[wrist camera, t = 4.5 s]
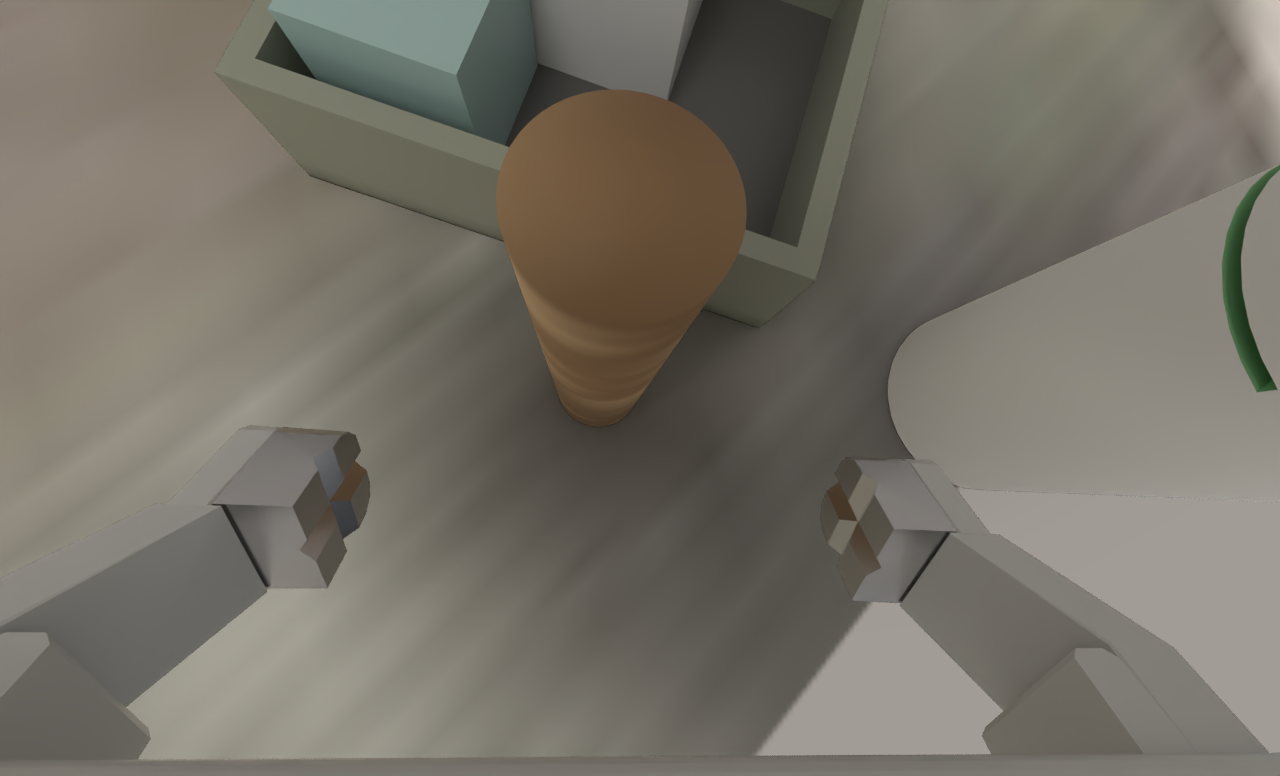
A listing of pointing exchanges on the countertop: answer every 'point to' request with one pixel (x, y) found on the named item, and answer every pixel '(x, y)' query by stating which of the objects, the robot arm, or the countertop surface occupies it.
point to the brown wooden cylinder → (616, 238)
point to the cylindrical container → (1115, 365)
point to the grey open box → (553, 71)
